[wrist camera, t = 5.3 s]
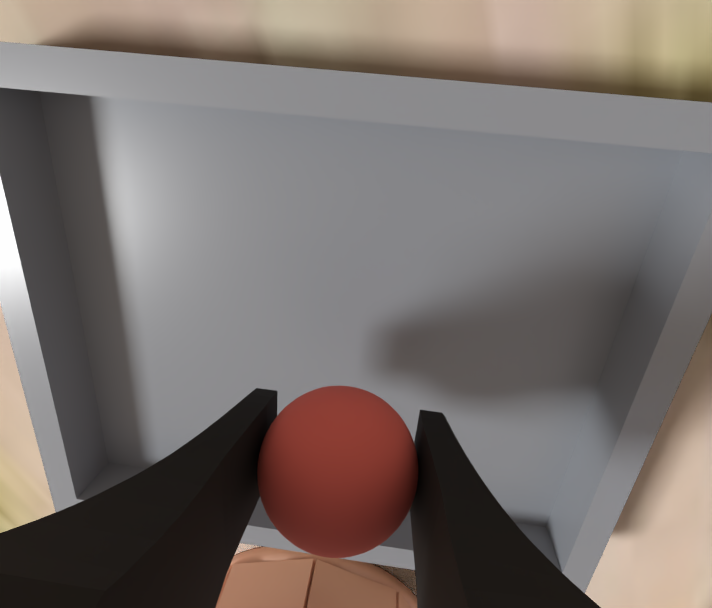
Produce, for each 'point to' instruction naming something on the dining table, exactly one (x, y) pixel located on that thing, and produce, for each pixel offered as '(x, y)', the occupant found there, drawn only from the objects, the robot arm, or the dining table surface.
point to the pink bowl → (308, 582)
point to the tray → (352, 268)
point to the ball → (337, 471)
